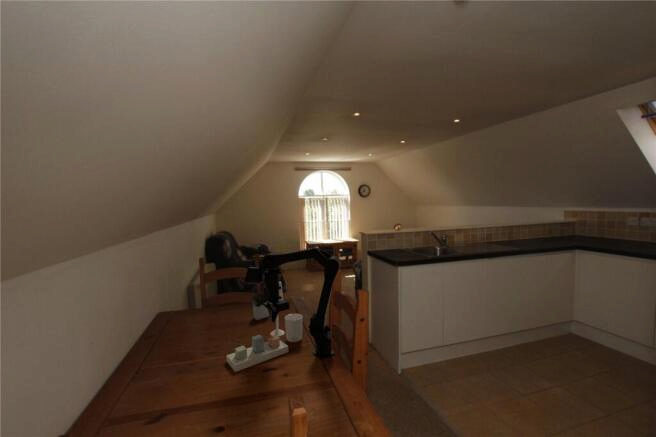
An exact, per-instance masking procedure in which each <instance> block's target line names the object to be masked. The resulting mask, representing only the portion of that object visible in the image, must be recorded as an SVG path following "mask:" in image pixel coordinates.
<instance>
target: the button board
mask: <svg viewBox="0 0 656 437" xmlns="http://www.w3.org/2000/svg"><path fill="white" fill-rule="evenodd" d="M246 349H247V357H246V358H243V359H241V360H237V359H236V358H235V352H233V353H229V354H226V362H227V364H228V365H229V367H231V369H232V370H233V371H234V373H236V372H239V371H242V370H245V369H246V368H250V367H252V366H255V365H257V364H260V363H263V362H265V361H268V360H271V359H273V358H277V357H278V356H282V355H284V354H286V353H289V345H288V344H286V343H285V342H284V341H282V340H281V339H280V346H277V347H274V348H271V347H270V346H269V345H268V341H266V342H265V341H264V350H263V351H260V352H257V353H256V352H254V351H253V350H252V346H251V347H247V348H246Z"/></svg>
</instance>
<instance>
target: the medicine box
mask: <svg viewBox="0 0 656 437" xmlns="http://www.w3.org/2000/svg"><path fill="white" fill-rule="evenodd" d="M252 308H253V311H252V312H253V319H255V320H256V321H259V320H262V319H265V318H270V316H269V313H268V310H267V308H266V307H264V306H263V305H261V306H260V307H256V306H255V305H253V304H252Z"/></svg>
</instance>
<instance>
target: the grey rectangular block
mask: <svg viewBox="0 0 656 437" xmlns="http://www.w3.org/2000/svg"><path fill="white" fill-rule="evenodd" d="M264 343H265V340H264V337H263V335H261V334H257V335H255V336H252V337H251V347H252V350H253V351H254V352H256V353H257V352H260V351H263V350H264Z"/></svg>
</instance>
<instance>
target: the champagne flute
mask: <svg viewBox="0 0 656 437" xmlns="http://www.w3.org/2000/svg"><path fill="white" fill-rule="evenodd" d="M279 286H281V289H279V296H281V299H279V300H280V301H281V300H284V295H283V286H282V281H280V280H279ZM285 334H286V331H284V330H282V329H280V328H279V314H278V315H277V317H276V320H275V329H274V330H273V331H271V332H270V336H274V335H276V336H278V337H281V336H283V335H285Z"/></svg>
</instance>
